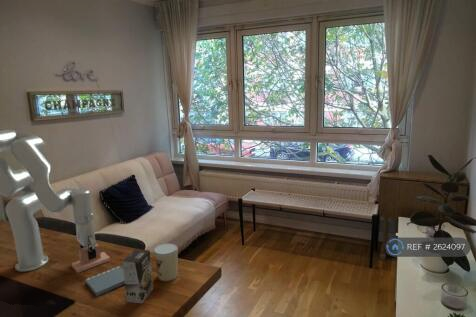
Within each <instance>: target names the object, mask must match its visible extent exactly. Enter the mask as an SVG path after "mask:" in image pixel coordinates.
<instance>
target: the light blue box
mask: <svg viewBox="0 0 476 317" xmlns="http://www.w3.org/2000/svg"><path fill="white" fill-rule="evenodd" d="M85 284H86V285H87V286H88V288H89V289H90V290H91V291H92V292H93V293H94V295H95V296H96V297H98V296H101V295H103V294H106V293H107V292H110V291H112V290H114V289H117V288H119V287H121V286H123V285H124V286H125V279H124V271H123V267H121V265H119V266H116V267H114V268H111V269H109V270H106V271H103V272H101V273H98V274H97V275H93V276H91V277H88V278H86V279H85Z"/></svg>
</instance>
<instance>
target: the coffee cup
mask: <svg viewBox="0 0 476 317" xmlns="http://www.w3.org/2000/svg"><path fill="white" fill-rule="evenodd" d="M153 255H154V259H155V264H156V265H155V266H156V271H157V272H156V273H157V276H158V279H159V280H160V281H163V282H167V281H168V282H169V281H172V280H174V279H176V278H177V277H178V271H179V270H178V268H179V265H178V262H179V261H178V260H179V259H178V255H179V254H178V246H177V245H176V244H174V243H168V242H167V243H163V244H159V245H158V246H156V247H155V248H154V250H153Z"/></svg>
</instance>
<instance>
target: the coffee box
mask: <svg viewBox="0 0 476 317" xmlns="http://www.w3.org/2000/svg"><path fill="white" fill-rule="evenodd" d="M150 252H151V251H150V250H147V249H134V250H133V251H132V252H131V253H130V254H128V255H127V256H126V257H125V258H124V259H123V260H122V269H123V271H124V279H125V284H124V286H125V295H126V302H127V303H135V304H136V303H137V304H143V303H144V301H146V299H147V298H148V297H149V295H150V294H151V292H152V291H153V289H154V284H153V272H152V263H151V253H150Z"/></svg>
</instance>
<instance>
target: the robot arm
mask: <svg viewBox="0 0 476 317" xmlns="http://www.w3.org/2000/svg"><path fill="white" fill-rule="evenodd" d="M9 150H10V152H11V154H12V155H13V156H14V157H15V159H16V160H17V162H19V164H20V165H21V166H22V167H23V168H18V169H15V170H14V169H13V168H12V167H11V165H10V163H9V161H7V159H6V158H5V157H3V156H2V155H0V196H2V197H7V198H8V197H12V196H14V195H16V194H18V193H19V194H20V195H18V196H16V197H14V198H13V199H11V200H9V202H8V203H7V204H6V205H5V210H4V211H5V214H6V217H7V219H8V221H9V224H10V226H11V230H12V235H13V240H14V241H13V242H14V245H15V250H16V256H17V260H18V262H17V263H16V264H15V266H14V268H15V271H17V272H21V273H22V272H30V271H34V270H37V269H39V268H42V267H43V266H45V265H47V263H48V262H49V257H48V255H46V254H44V250H43V243H42V239H41V233H40V228H39V227H40V226H39V224H38V221H37V219H36V218H35V217H34V214H35V213H37V212H38V211H40V210H42V209H43V208H46V209H47V210H48V211H49V212H51V213H61V212H62V211H64V210H65V209H67V208H68V207H70V206H72V212H73V219H74V225H75V232H76V233H75V234H76V241H77V242H78V243H79V246H80V248H79V249H81V248H84V247H87V248H88V259H89V260H91V259H94V258H96V257H97V256H96V248H95V244H96V237H95V230H94V224H93V222H94V221H95V217H94V210H93V200H92V193H91V191H90V189H85V188H81V189H77V188H72V187H65V188H62V189H60V190H58V191H55V190H54V189H53V187H52V185H51V184H50V178H49V177H50V173H51V171H52V168H53V167H52V164H51V163H50V162H49V160H48V159H47V158H46V157H45V156H44V154H43V153H44V152H45V150H46V143H45V141H44V139H42V138H41V137H40V136H37V135H35V134H30V133H27V132H23V131H19V130H14V129H3V130H0V153H1V152H5V151H9ZM90 245H91V247H90V248H89V246H90Z"/></svg>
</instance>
